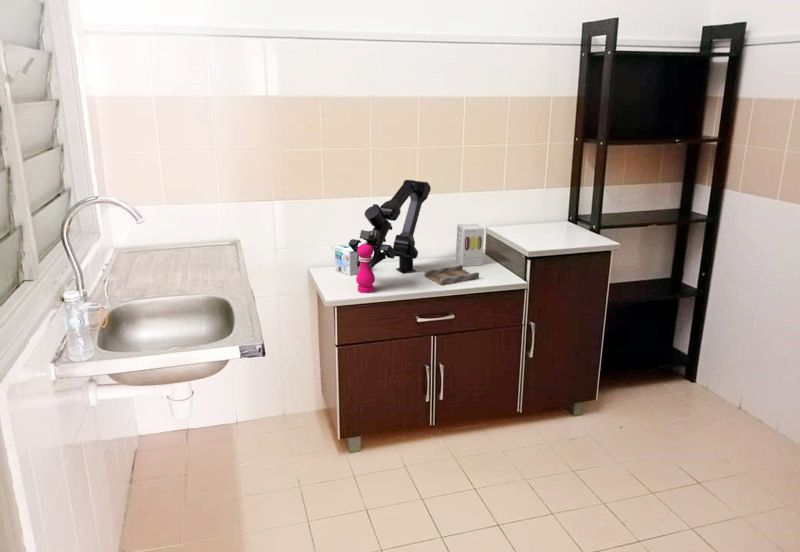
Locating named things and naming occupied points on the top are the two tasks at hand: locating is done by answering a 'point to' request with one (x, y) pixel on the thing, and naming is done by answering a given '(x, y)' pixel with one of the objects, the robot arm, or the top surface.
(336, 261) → the light bulb box
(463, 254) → the supplement box
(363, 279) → the pepper mill
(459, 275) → the track board
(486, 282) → the top surface
